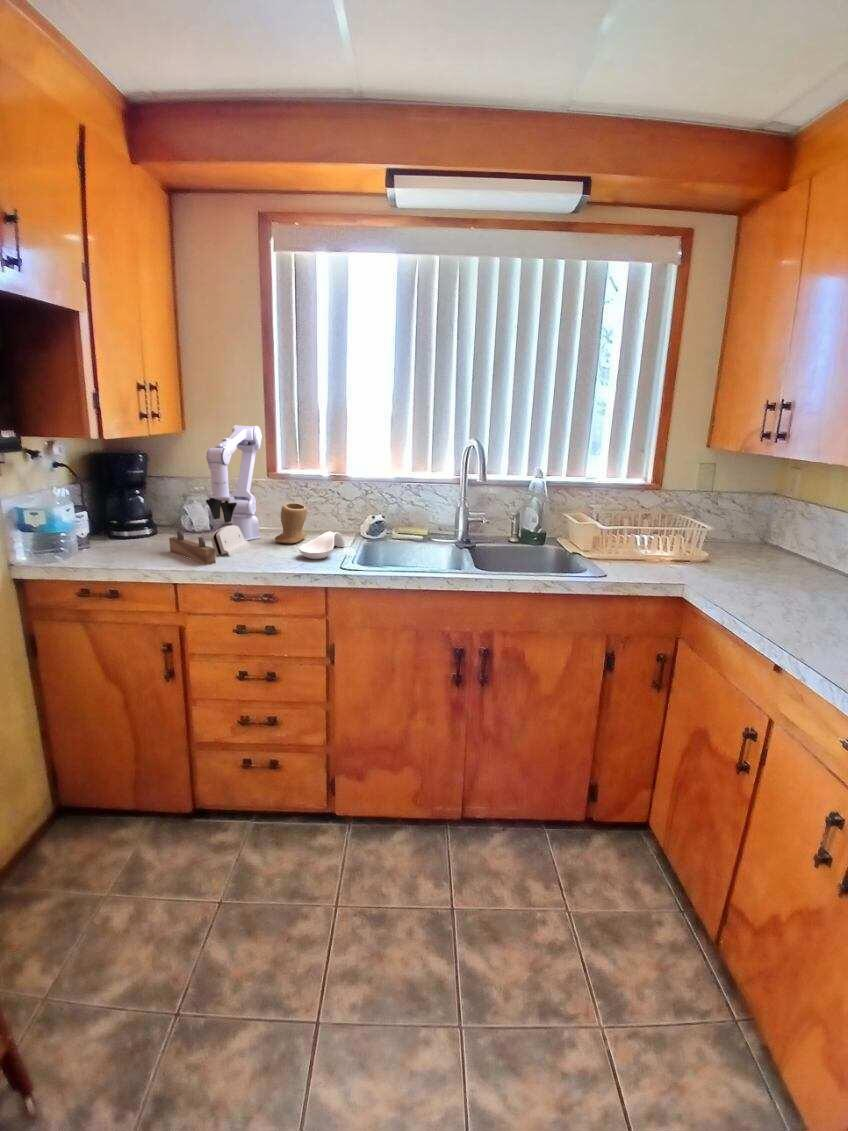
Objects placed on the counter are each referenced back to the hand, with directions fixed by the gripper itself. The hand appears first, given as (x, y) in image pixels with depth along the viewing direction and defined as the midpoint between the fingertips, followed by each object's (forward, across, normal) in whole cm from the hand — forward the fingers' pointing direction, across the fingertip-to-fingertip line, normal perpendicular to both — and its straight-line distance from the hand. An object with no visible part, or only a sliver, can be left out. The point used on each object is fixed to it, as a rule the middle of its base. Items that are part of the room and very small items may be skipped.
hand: (222, 520), depth 202 cm
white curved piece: (+11, +5, 0) cm, 12 cm away
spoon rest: (+11, +30, +22) cm, 39 cm away
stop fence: (+10, +5, -15) cm, 19 cm away
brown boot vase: (+11, +7, +26) cm, 29 cm away
